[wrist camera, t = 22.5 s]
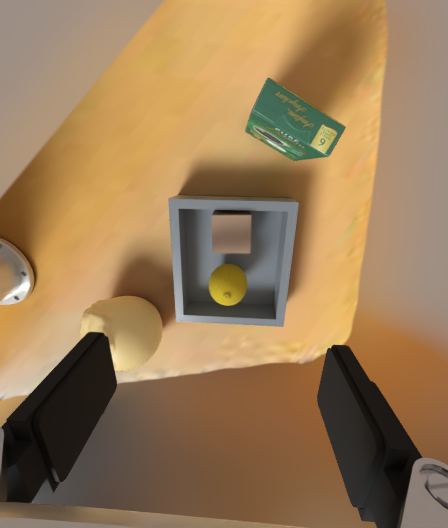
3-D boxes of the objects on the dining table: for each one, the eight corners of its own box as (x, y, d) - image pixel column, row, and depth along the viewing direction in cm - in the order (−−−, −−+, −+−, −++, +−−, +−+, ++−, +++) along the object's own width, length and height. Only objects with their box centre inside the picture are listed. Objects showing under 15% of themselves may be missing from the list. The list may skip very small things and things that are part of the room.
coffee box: (308, 142, 32) (350, 125, 20) (295, 163, 33) (328, 159, 21) (255, 109, 31) (265, 71, 19) (244, 132, 32) (247, 109, 20)
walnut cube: (215, 209, 35) (211, 215, 31) (249, 209, 35) (251, 215, 30) (216, 242, 37) (212, 253, 32) (249, 242, 37) (250, 253, 32)
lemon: (251, 263, 38) (254, 286, 30) (239, 292, 40) (239, 321, 32) (218, 251, 38) (212, 272, 30) (207, 282, 40) (200, 308, 32)
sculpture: (101, 281, 42) (57, 317, 32) (170, 293, 42) (148, 332, 32) (103, 335, 46) (65, 382, 36) (166, 346, 46) (145, 395, 36)
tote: (183, 304, 42) (176, 321, 38) (177, 194, 36) (168, 198, 31) (278, 309, 42) (283, 326, 37) (291, 197, 35) (299, 202, 30)
